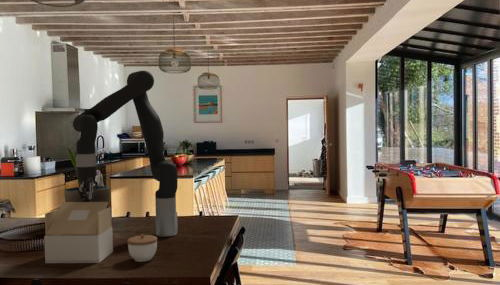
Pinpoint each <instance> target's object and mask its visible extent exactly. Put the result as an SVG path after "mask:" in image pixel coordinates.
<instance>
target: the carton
mask: <svg viewBox="0 0 500 285" xmlns="http://www.w3.org/2000/svg"><path fill="white" fill-rule="evenodd" d="M58 210H59V208H56V209H55V210H51V211H48V212H46V213H44V221H45V222H44V228H45V229H44V230H45V235H44V240H43V241H44V260H45V261H44V263H45V264H94V263H95V264H98V263H101V262H102V261H103V260H104V259H106V258H107V257H108V256H110V255H111V254H112V253H113V252H114V238H113V237H114V236H113V232H114V231H113V226H112V206H109V207H108V208H106V209H104V210H102V211H100V212H98V213H97V231H96V234H80V235H47V234H46V233H47V231H48V229H49V227H50V226H51V224H52V222H53V220H54V218H55V216H56V214H57V212H58Z"/></svg>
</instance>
